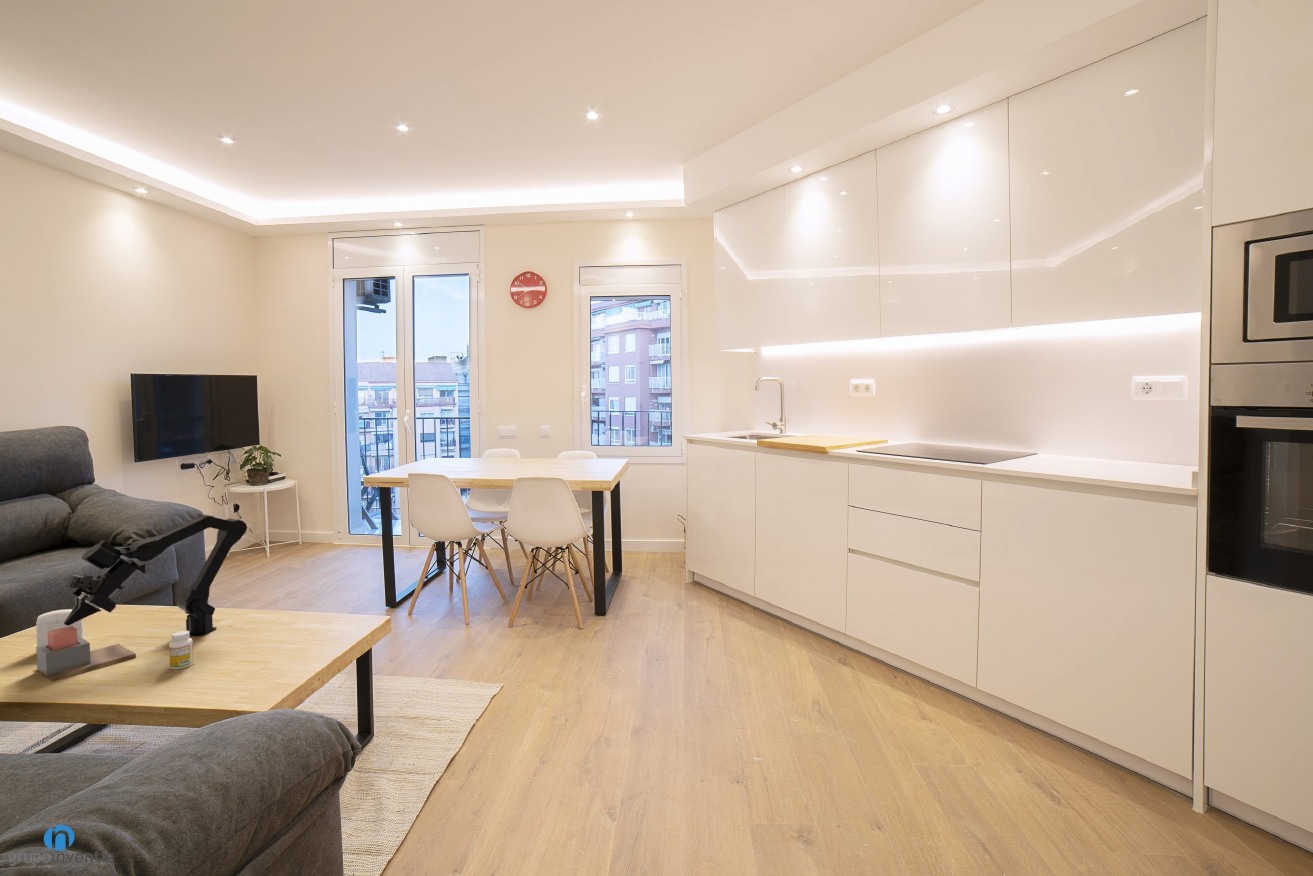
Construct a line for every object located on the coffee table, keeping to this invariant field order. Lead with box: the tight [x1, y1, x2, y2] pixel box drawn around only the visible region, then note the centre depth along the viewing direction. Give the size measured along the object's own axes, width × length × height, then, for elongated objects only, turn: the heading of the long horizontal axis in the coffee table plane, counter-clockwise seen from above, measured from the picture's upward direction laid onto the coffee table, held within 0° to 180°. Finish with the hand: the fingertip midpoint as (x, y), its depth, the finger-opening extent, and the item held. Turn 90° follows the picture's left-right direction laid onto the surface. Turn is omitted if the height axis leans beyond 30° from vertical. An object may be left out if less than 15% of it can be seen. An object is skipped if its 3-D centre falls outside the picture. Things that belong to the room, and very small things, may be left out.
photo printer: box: [35, 608, 84, 647], centre depth 182 cm, size 10×4×12 cm, turn 123°
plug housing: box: [35, 637, 91, 675], centre depth 169 cm, size 9×9×6 cm
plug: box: [47, 626, 78, 651], centre depth 168 cm, size 5×5×6 cm
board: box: [36, 643, 137, 682], centre depth 173 cm, size 18×14×1 cm
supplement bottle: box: [168, 630, 194, 670], centre depth 171 cm, size 5×5×10 cm
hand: (65, 624), depth 169 cm, fingers closed
